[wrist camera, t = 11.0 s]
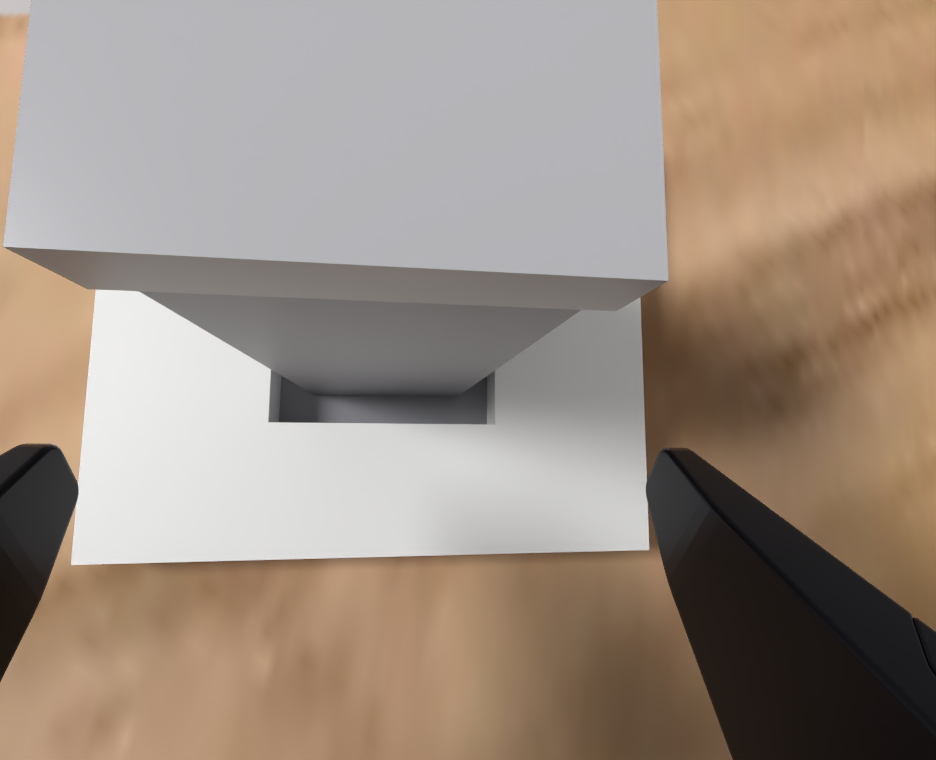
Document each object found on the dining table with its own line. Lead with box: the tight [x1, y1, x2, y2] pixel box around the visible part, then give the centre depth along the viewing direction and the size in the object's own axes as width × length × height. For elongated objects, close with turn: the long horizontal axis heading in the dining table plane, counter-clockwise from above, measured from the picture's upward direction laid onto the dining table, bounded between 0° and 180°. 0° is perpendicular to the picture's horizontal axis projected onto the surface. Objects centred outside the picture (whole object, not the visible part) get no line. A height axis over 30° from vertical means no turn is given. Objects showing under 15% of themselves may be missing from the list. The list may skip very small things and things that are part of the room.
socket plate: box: [71, 290, 649, 565], centre depth 16 cm, size 14×16×2 cm
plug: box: [3, 0, 669, 397], centre depth 11 cm, size 5×5×13 cm
